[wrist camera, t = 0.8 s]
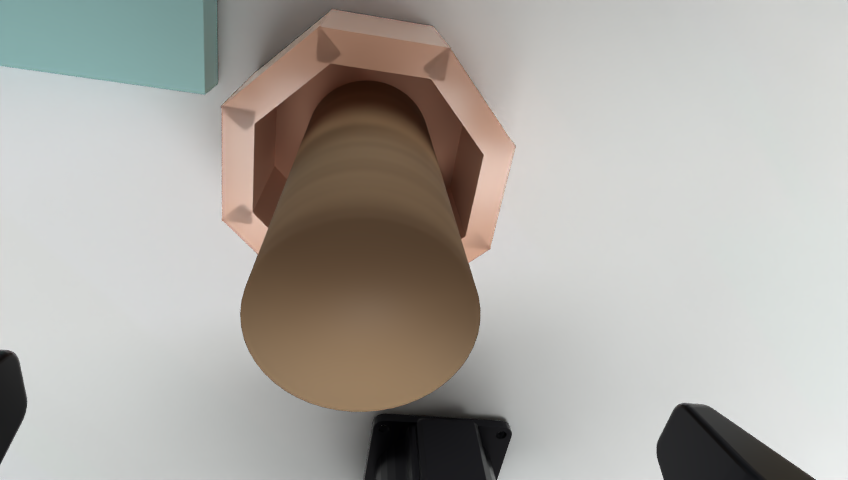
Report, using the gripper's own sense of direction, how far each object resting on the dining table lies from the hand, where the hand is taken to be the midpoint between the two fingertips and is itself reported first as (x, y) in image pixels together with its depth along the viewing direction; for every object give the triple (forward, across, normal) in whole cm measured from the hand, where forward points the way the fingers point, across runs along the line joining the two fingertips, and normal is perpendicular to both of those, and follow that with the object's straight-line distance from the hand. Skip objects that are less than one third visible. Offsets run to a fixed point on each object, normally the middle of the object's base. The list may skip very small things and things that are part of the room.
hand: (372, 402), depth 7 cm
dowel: (+12, 0, 0) cm, 12 cm away
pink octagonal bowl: (+13, 0, 0) cm, 13 cm away
